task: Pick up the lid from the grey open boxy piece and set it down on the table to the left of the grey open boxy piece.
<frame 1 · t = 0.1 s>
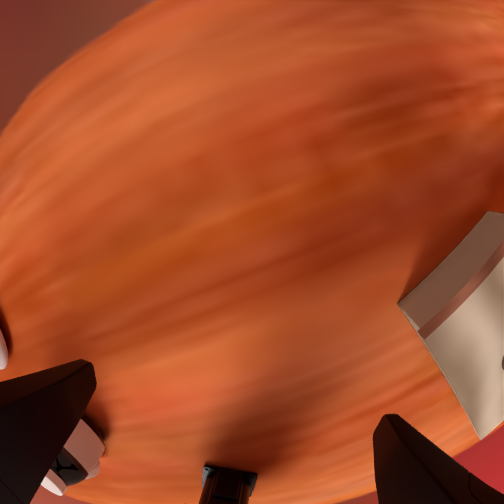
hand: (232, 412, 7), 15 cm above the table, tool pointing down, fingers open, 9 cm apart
spread jar: (85, 433, 29), on the table
grey open boxy piece: (480, 323, 21), on the table
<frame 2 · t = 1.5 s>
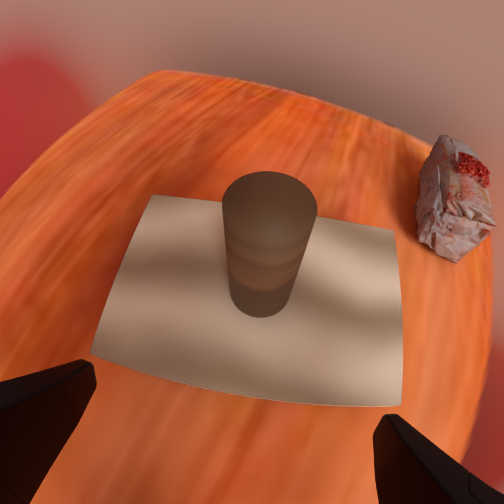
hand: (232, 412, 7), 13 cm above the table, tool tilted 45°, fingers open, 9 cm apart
lid: (259, 297, 18), point 5 cm above the table, touching grey open boxy piece
food item: (434, 219, 29), on the table
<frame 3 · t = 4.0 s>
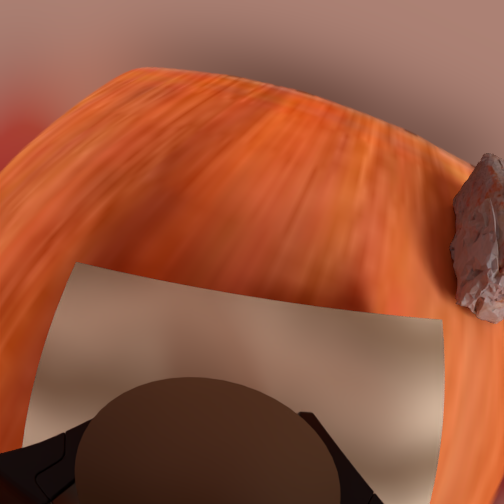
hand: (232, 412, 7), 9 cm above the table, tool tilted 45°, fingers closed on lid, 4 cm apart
lid: (230, 442, 10), point 5 cm above the table, touching gripper, grey open boxy piece
food item: (471, 263, 21), on the table
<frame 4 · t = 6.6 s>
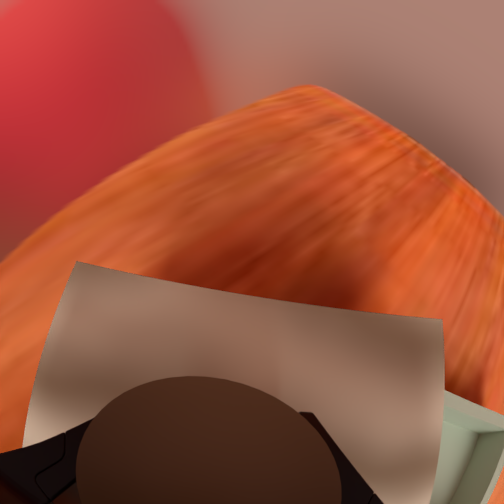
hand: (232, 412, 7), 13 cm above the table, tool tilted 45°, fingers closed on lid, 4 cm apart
lid: (230, 441, 10), point 9 cm above the table, touching gripper
grey open boxy piece: (390, 467, 16), on the table
when the fingers open (6 cm above the table, at t = 9.5 s): lid drops 3 cm, on the table.
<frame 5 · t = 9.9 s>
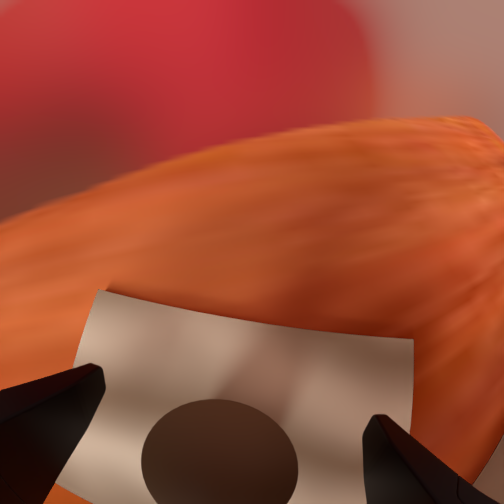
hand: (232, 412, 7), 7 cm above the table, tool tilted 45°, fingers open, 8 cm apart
lid: (232, 438, 12), on the table
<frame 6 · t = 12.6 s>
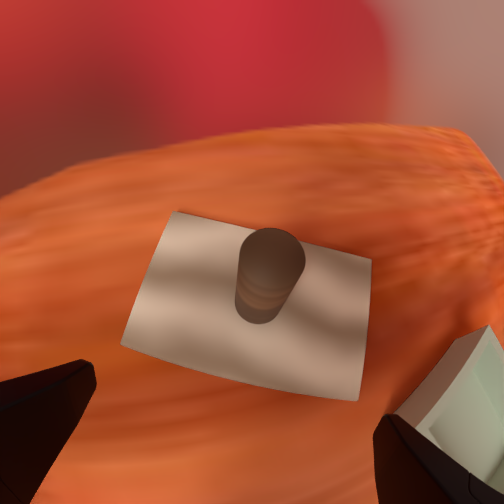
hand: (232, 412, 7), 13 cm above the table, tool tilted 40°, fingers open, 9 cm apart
lid: (256, 306, 23), on the table
grey open boxy piece: (461, 441, 17), on the table
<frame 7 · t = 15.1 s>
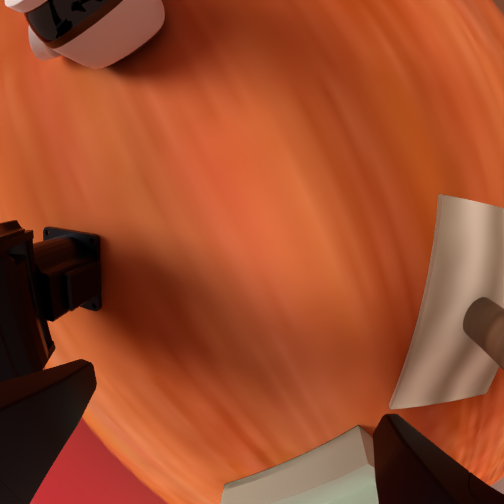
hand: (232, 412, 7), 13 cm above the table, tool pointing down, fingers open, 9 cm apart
spread jar: (107, 32, 17), on the table
lid: (471, 311, 19), on the table
grey open boxy piece: (315, 481, 25), on the table
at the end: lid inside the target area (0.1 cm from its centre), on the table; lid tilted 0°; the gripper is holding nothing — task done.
